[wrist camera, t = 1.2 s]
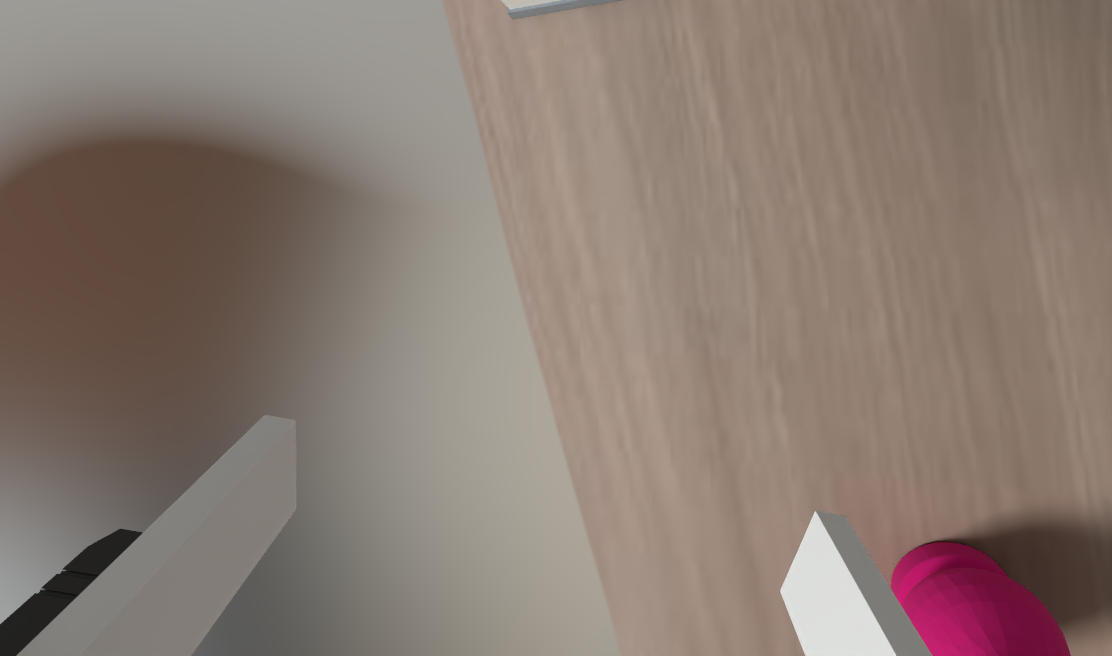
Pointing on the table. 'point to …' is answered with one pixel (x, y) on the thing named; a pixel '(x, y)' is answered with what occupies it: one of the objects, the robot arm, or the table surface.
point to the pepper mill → (972, 605)
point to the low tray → (545, 6)
